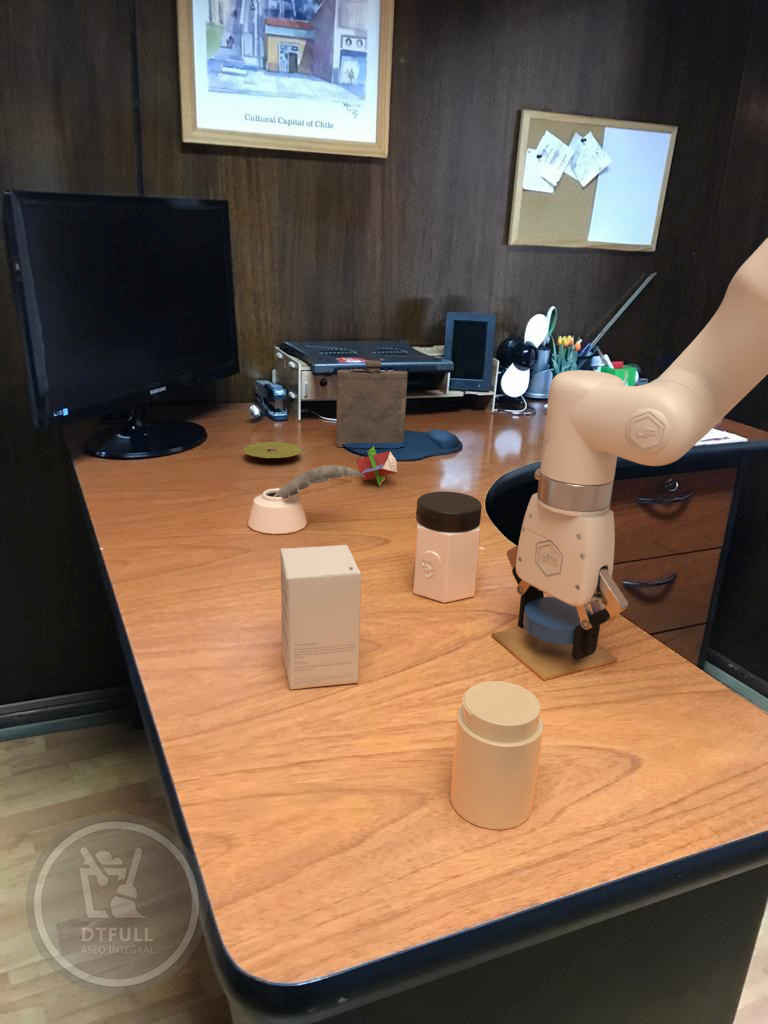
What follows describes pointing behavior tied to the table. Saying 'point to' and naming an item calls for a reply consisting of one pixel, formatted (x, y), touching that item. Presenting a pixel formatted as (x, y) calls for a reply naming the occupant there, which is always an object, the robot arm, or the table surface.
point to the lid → (551, 620)
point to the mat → (272, 450)
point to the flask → (370, 405)
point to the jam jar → (496, 755)
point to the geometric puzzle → (377, 465)
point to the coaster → (548, 654)
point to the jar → (446, 546)
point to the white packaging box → (320, 616)
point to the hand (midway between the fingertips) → (555, 638)
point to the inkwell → (290, 501)
